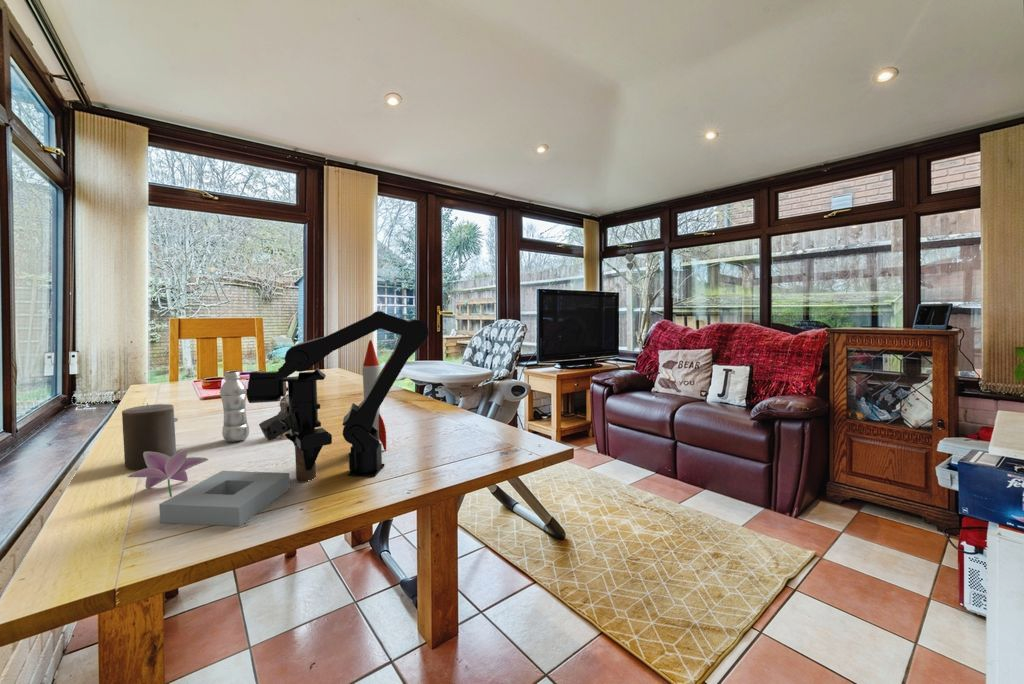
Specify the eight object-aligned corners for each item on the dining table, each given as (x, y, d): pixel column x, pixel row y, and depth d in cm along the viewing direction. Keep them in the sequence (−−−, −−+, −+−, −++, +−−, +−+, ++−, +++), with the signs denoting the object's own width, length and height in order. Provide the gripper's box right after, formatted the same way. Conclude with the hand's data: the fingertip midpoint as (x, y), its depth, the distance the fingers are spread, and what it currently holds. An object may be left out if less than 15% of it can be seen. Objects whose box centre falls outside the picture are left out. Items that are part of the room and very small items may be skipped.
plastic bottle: (228, 446, 115) (223, 374, 113) (219, 441, 119) (214, 371, 117) (253, 440, 120) (250, 371, 118) (244, 435, 124) (240, 369, 122)
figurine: (272, 439, 120) (270, 399, 119) (279, 432, 127) (277, 393, 126) (299, 437, 122) (297, 397, 121) (304, 430, 129) (303, 392, 128)
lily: (218, 484, 93) (209, 444, 96) (188, 486, 82) (178, 440, 84) (158, 507, 90) (150, 465, 93) (118, 512, 79) (110, 463, 81)
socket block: (289, 488, 89) (289, 473, 89) (239, 526, 74) (238, 507, 74) (223, 486, 90) (222, 470, 90) (160, 522, 75) (159, 504, 75)
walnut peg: (319, 474, 96) (318, 437, 96) (310, 482, 92) (308, 442, 92) (302, 474, 97) (301, 436, 96) (292, 481, 93) (290, 442, 92)
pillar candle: (147, 471, 97) (143, 408, 96) (114, 467, 99) (110, 406, 98) (186, 457, 107) (184, 399, 106) (156, 454, 109) (152, 397, 108)
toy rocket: (379, 445, 117) (377, 338, 114) (387, 450, 113) (384, 340, 110) (359, 449, 113) (356, 339, 111) (366, 455, 109) (363, 341, 106)
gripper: (253, 397, 95) (256, 464, 96) (271, 414, 81) (275, 492, 82) (305, 391, 102) (308, 452, 103) (331, 405, 88) (333, 476, 89)
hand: (305, 467), depth 94 cm, fingers closed on walnut peg, 4 cm apart
